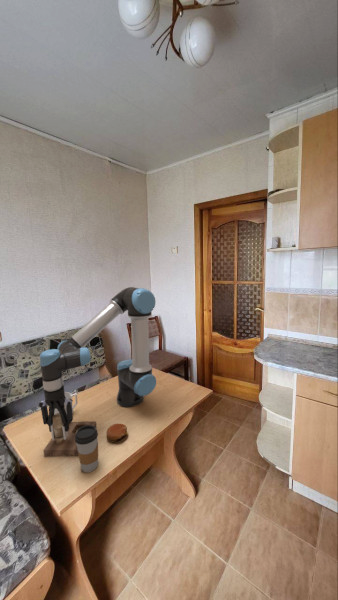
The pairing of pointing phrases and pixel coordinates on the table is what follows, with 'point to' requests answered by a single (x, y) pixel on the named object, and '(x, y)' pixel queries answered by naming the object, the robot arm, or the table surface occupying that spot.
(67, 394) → the mug
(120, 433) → the burger
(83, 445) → the coffee cup
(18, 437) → the table surface
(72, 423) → the board
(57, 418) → the peg
